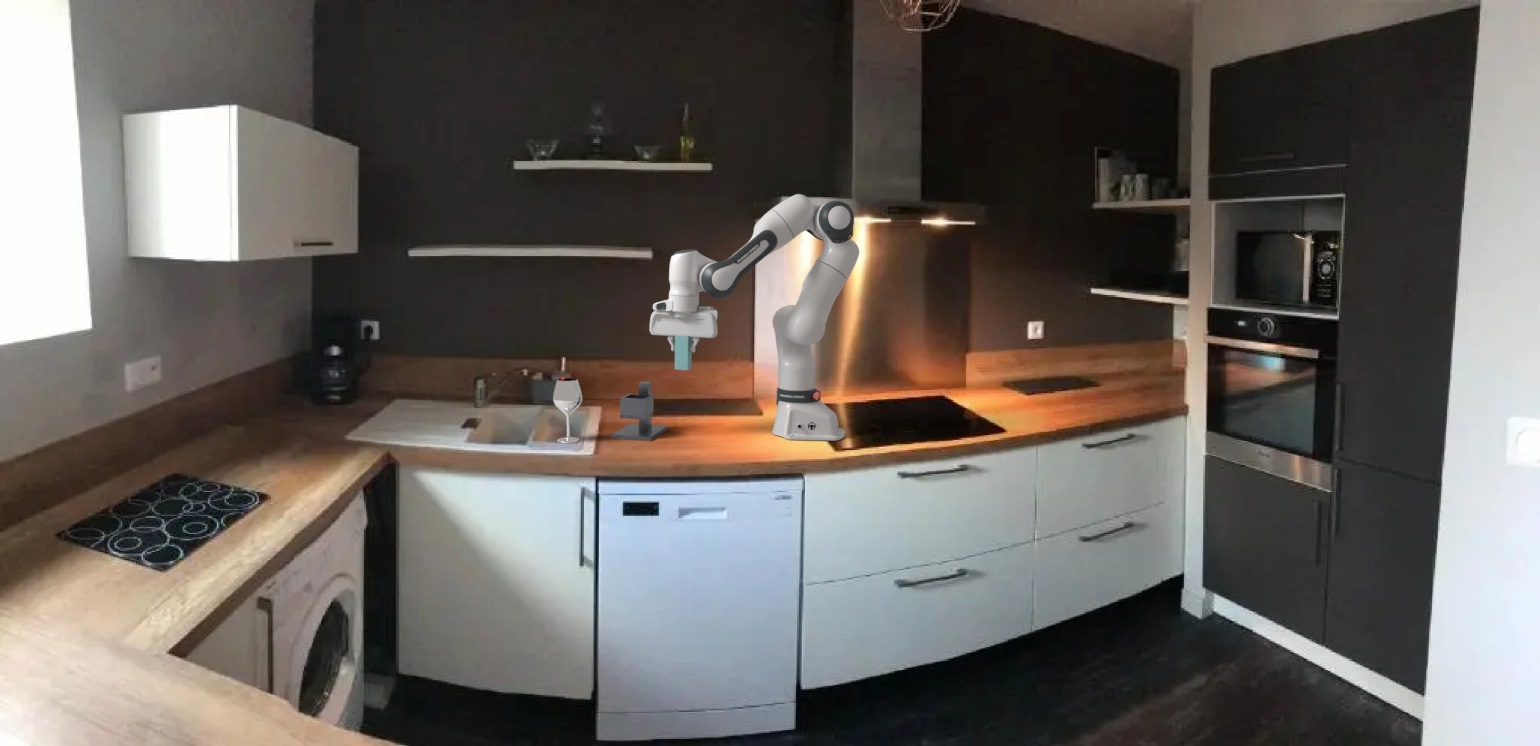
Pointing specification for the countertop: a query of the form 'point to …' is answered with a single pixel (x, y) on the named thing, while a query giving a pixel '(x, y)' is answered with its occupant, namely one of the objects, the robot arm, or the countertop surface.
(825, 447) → the countertop surface
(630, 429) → the stand
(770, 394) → the countertop surface
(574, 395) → the wineglass
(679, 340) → the teal rectangular block
